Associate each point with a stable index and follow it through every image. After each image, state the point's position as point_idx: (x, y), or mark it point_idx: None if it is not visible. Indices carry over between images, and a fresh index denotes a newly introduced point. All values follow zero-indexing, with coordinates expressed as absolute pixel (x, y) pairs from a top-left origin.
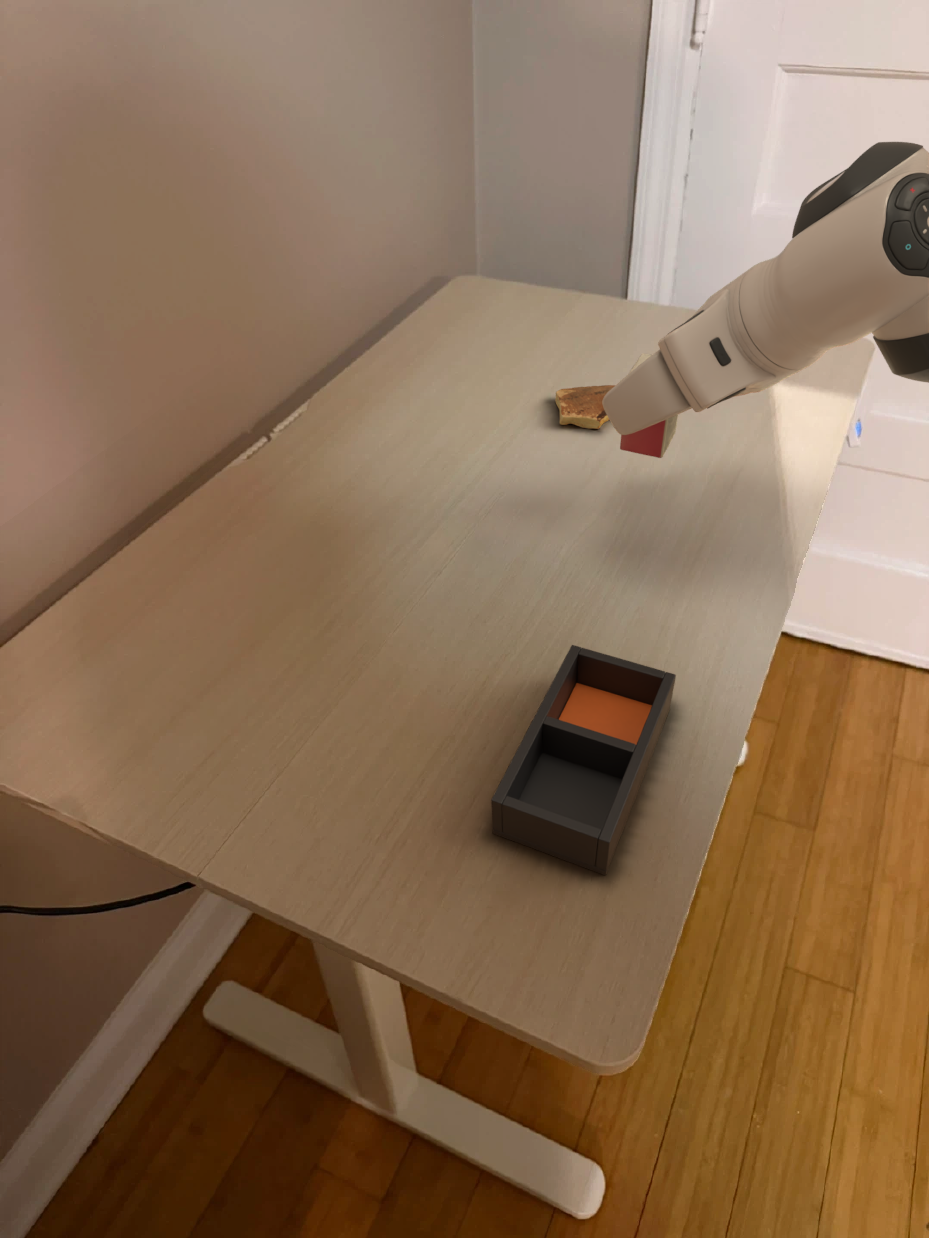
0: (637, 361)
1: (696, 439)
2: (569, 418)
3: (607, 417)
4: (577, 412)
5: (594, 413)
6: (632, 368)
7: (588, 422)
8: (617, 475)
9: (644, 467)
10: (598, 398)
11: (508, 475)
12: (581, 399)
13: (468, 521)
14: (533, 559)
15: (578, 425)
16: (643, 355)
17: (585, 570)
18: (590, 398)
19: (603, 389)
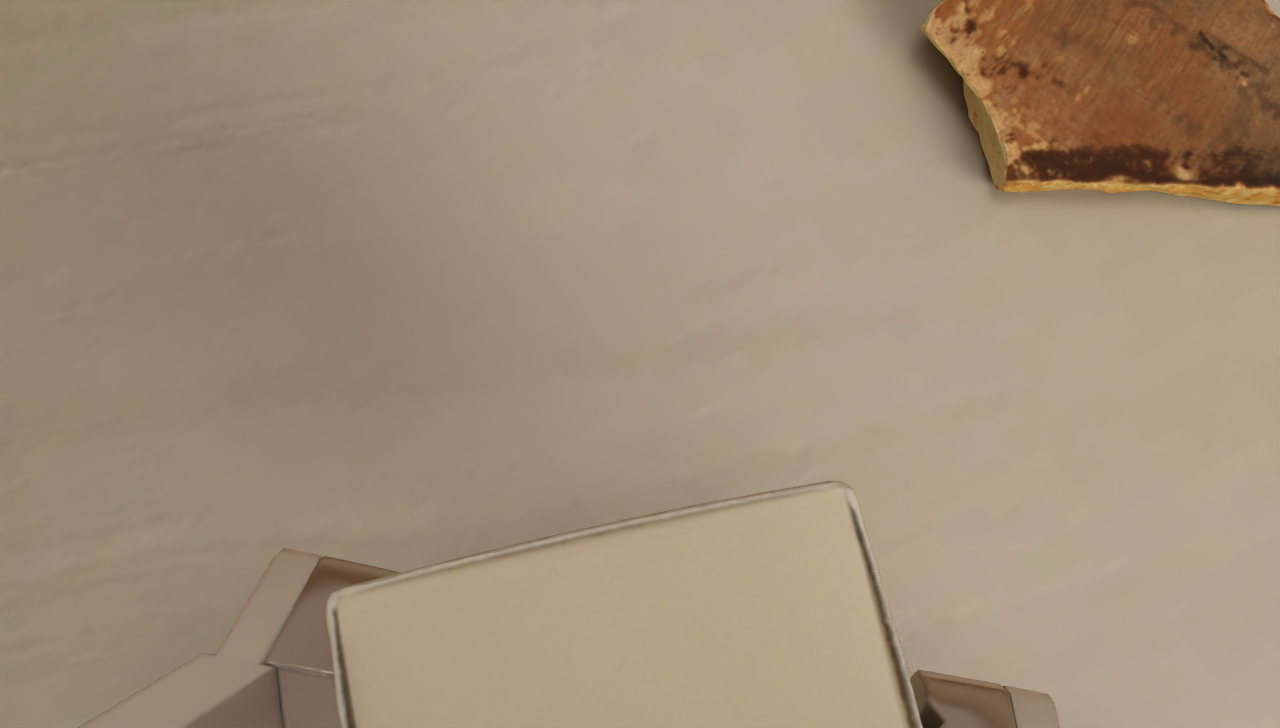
0: (674, 522)
1: (1216, 612)
2: (943, 52)
3: (1077, 186)
4: (995, 60)
5: (1042, 128)
6: (517, 553)
7: (993, 132)
8: (736, 448)
9: None
10: (1167, 75)
11: (474, 63)
12: (1105, 15)
13: (119, 113)
14: (33, 466)
15: (966, 101)
16: (805, 518)
17: (74, 685)
18: (1141, 44)
19: (1258, 50)
